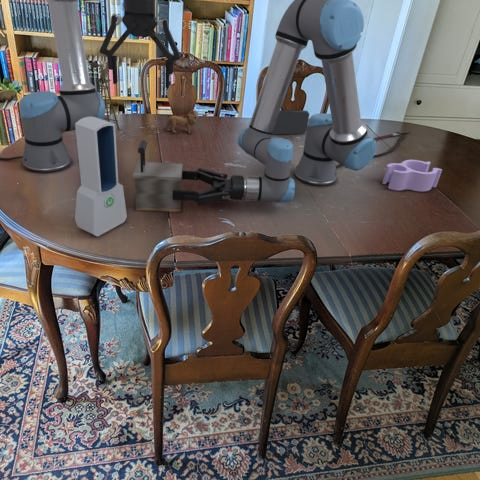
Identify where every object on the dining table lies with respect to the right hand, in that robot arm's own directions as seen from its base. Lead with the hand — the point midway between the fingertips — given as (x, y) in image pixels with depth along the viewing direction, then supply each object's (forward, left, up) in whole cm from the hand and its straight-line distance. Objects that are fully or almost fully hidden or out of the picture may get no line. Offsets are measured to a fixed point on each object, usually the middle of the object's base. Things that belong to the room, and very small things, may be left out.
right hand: (173, 184), depth 141 cm
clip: (-87, +14, -7) cm, 89 cm away
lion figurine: (-27, -58, -7) cm, 64 cm away
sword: (-116, -26, -7) cm, 120 cm away
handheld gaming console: (-69, -44, -7) cm, 82 cm away
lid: (+4, -2, +4) cm, 6 cm away
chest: (+4, -2, -7) cm, 8 cm away
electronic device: (+23, +5, -7) cm, 25 cm away
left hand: (+8, -4, +29) cm, 30 cm away
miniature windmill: (+3, -66, -7) cm, 66 cm away
